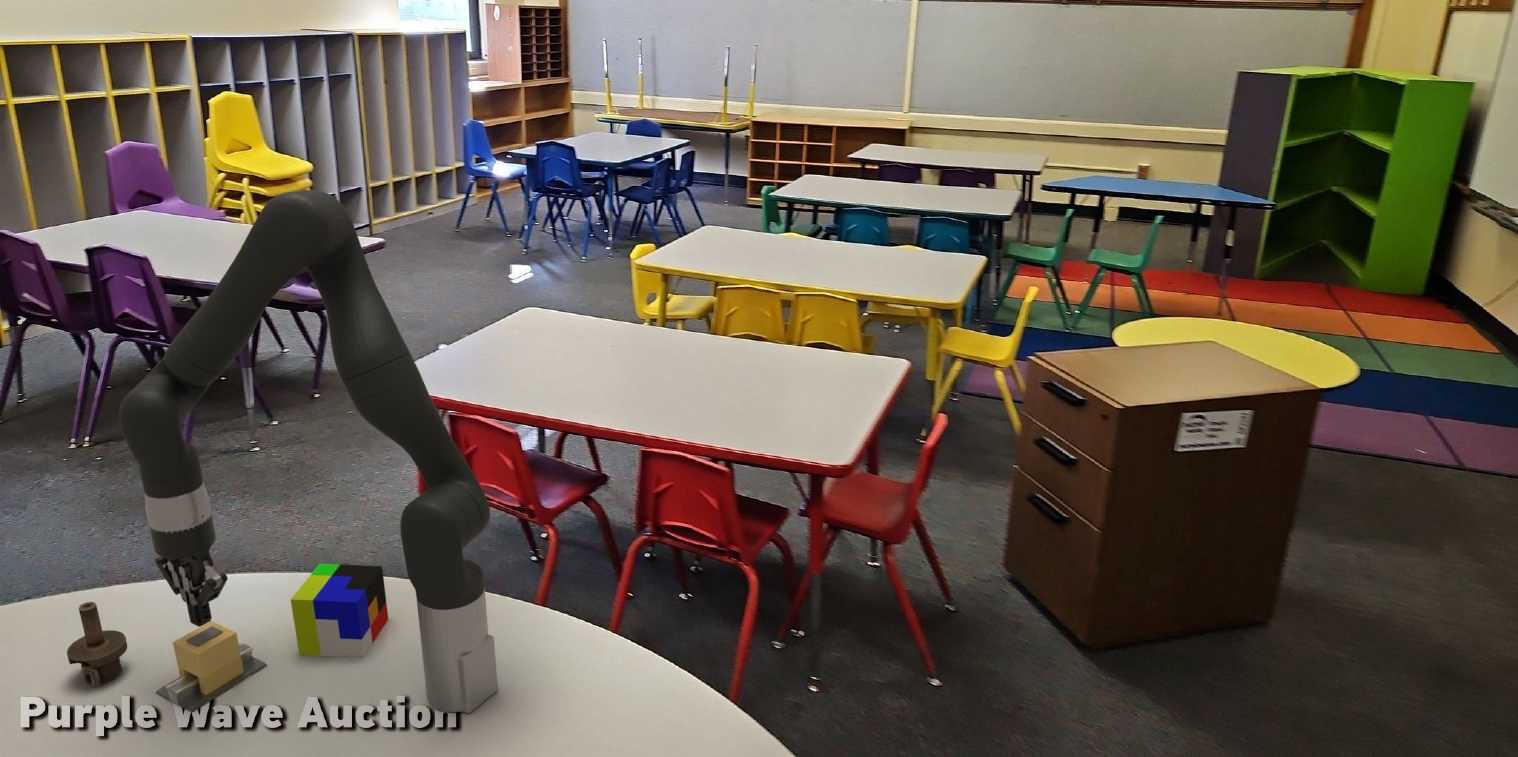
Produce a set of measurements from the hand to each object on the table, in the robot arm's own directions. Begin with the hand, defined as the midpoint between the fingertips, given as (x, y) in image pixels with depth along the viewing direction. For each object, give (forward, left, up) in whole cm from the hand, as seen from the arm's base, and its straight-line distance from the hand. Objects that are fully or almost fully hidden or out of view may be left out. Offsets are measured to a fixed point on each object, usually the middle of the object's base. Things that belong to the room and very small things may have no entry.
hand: (201, 622), depth 143 cm
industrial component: (+15, +6, -10) cm, 19 cm away
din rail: (0, 0, -10) cm, 10 cm away
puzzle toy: (-8, -17, -10) cm, 21 cm away
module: (0, 0, -10) cm, 10 cm away
